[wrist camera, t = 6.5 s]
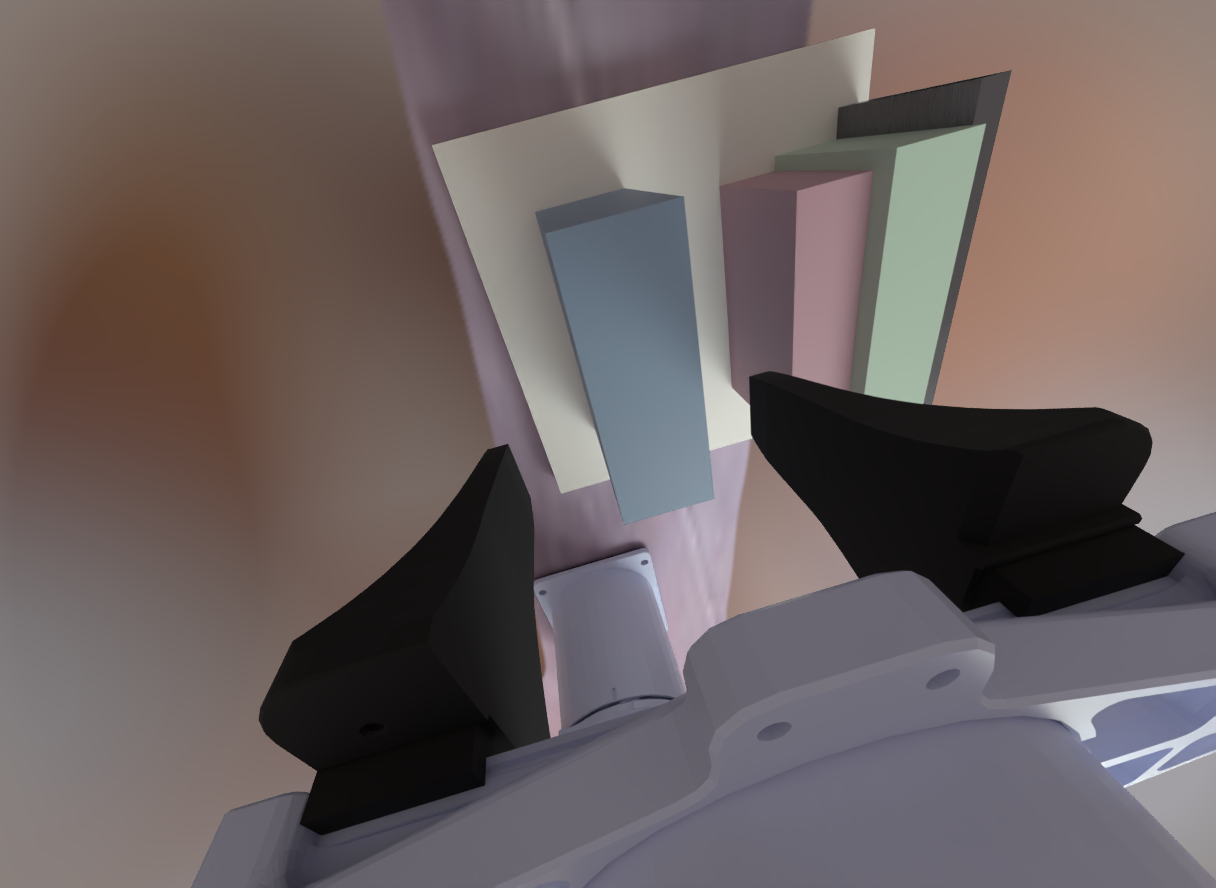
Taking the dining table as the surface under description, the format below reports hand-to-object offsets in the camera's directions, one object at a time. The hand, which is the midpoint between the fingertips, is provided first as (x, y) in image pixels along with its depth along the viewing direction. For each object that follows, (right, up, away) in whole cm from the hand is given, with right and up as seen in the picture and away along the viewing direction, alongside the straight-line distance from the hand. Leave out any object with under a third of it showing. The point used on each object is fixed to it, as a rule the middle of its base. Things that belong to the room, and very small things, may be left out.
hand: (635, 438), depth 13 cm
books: (+7, +7, +7) cm, 12 cm away
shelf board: (+2, +6, +8) cm, 10 cm away
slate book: (-1, +5, +6) cm, 8 cm away
